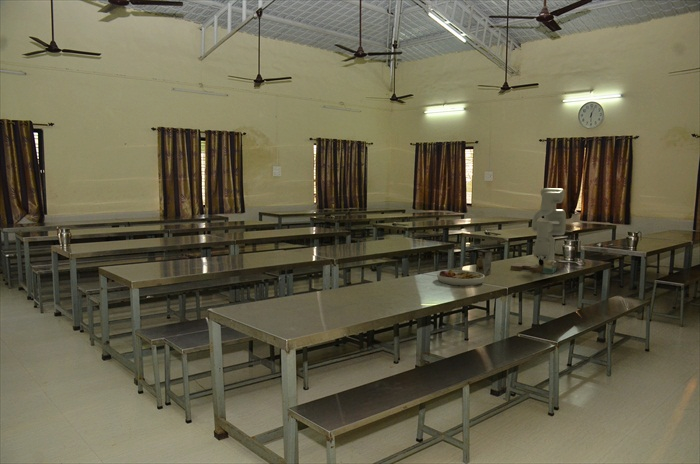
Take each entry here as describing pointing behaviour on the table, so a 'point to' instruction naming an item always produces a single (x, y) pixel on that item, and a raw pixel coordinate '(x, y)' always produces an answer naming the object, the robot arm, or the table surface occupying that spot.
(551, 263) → the birch block
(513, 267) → the trap board
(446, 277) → the bowl
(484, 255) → the coffee box
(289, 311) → the table surface
